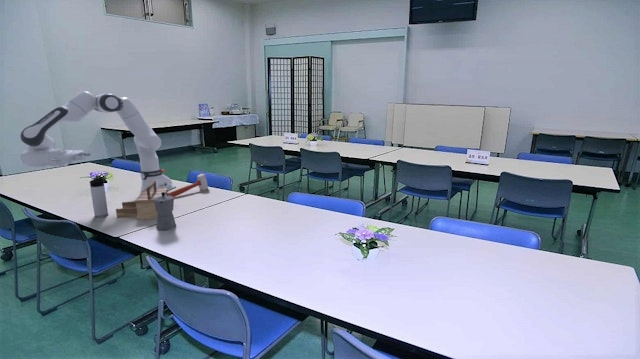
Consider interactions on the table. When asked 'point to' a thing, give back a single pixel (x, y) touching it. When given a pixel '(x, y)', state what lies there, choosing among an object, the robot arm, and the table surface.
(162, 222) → the coffeepot
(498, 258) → the table surface
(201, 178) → the mallet
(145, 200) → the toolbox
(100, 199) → the travel mug
